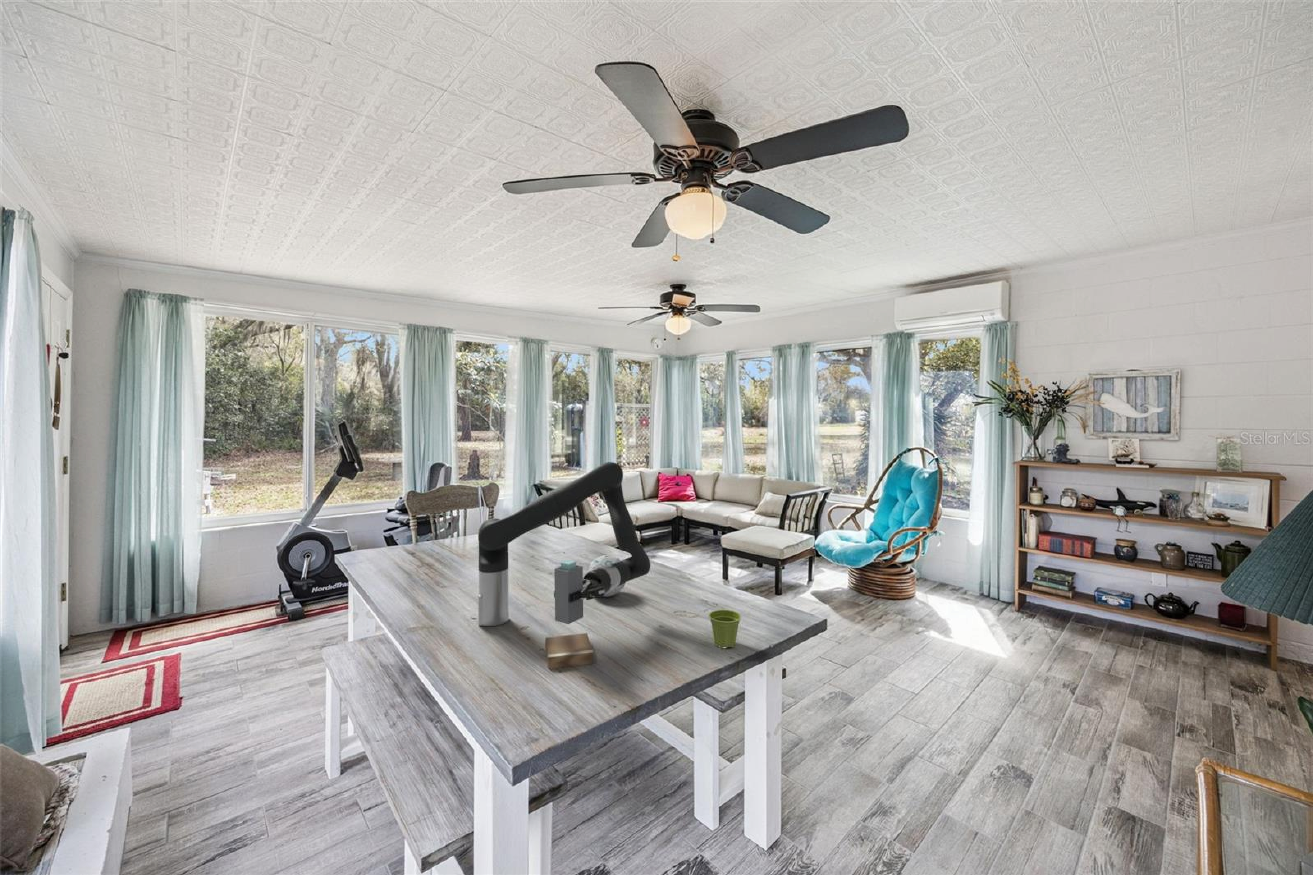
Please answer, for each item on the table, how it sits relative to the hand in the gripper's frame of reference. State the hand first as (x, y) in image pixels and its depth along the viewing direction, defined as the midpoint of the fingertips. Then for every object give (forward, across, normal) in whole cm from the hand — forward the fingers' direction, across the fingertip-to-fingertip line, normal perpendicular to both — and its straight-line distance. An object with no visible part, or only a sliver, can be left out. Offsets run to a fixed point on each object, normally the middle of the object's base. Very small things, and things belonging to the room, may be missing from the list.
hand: (562, 596), depth 140 cm
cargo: (-3, 0, -6) cm, 7 cm away
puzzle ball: (-46, -23, +18) cm, 55 cm away
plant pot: (-34, +33, +18) cm, 50 cm away
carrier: (-3, 0, +7) cm, 7 cm away
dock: (-2, 0, +17) cm, 17 cm away
